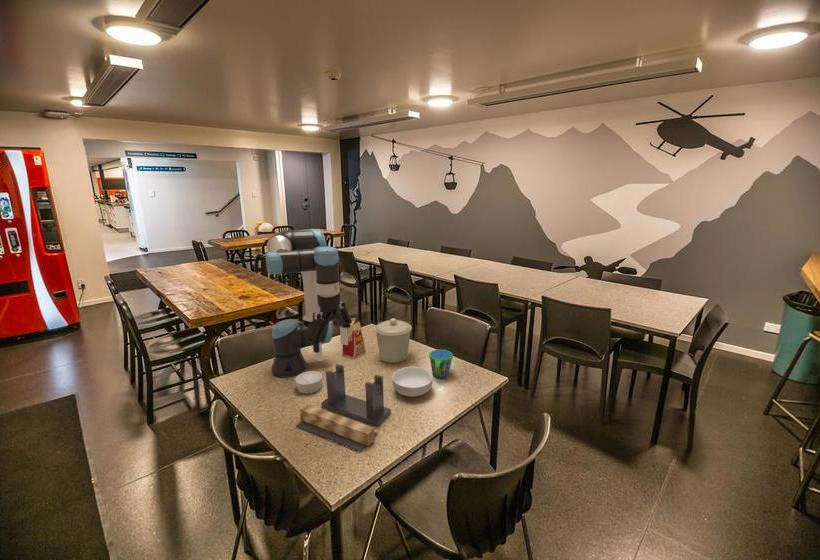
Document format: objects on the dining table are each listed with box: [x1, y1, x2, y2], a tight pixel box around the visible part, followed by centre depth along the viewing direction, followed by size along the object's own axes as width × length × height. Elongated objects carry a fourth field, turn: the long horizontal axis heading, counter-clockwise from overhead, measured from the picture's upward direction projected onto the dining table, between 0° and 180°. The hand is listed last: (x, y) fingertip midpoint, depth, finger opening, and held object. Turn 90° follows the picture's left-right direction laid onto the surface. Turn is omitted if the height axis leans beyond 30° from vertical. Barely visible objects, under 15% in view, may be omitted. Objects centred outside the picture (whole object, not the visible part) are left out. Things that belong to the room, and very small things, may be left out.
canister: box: [374, 317, 413, 364], centre depth 180 cm, size 18×18×21 cm
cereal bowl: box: [391, 366, 434, 397], centre depth 153 cm, size 17×17×7 cm
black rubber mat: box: [295, 420, 378, 453], centre depth 129 cm, size 28×10×1 cm, turn 62°
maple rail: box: [299, 403, 376, 447], centre depth 129 cm, size 30×4×4 cm, turn 62°
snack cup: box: [428, 349, 454, 379], centre depth 165 cm, size 16×10×10 cm
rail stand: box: [321, 363, 392, 428], centre depth 139 cm, size 26×9×16 cm, turn 62°
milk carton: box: [342, 317, 367, 360], centre depth 185 cm, size 9×9×20 cm
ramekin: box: [294, 370, 323, 395], centre depth 156 cm, size 11×11×5 cm
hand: (332, 351), depth 128 cm, fingers open, 13 cm apart
